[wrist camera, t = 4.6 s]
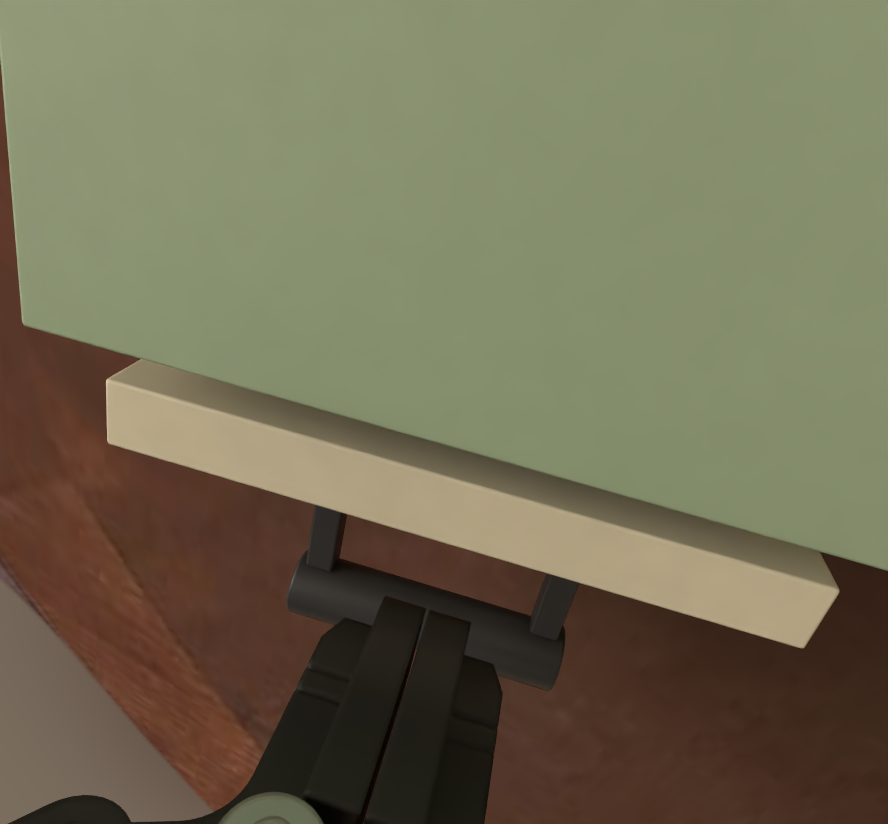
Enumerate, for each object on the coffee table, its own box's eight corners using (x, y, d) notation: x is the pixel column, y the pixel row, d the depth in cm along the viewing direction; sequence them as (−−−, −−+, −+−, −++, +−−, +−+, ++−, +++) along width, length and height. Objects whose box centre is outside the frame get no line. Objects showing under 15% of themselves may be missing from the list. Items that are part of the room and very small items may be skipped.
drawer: (649, 583, 19) (684, 840, 12) (268, 471, 20) (111, 655, 13) (1054, -300, 10) (1830, -961, 4) (364, -425, 11) (67, -1140, 5)
